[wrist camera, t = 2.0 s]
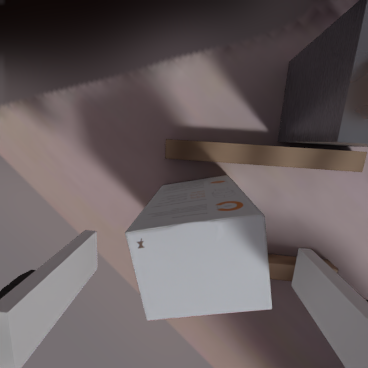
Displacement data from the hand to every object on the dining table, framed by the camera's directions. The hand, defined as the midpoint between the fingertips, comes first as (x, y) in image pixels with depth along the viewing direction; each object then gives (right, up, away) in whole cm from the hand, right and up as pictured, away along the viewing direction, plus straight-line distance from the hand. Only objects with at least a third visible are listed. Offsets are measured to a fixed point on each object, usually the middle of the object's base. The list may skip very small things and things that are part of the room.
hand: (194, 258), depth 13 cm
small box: (+1, +2, +11) cm, 12 cm away
